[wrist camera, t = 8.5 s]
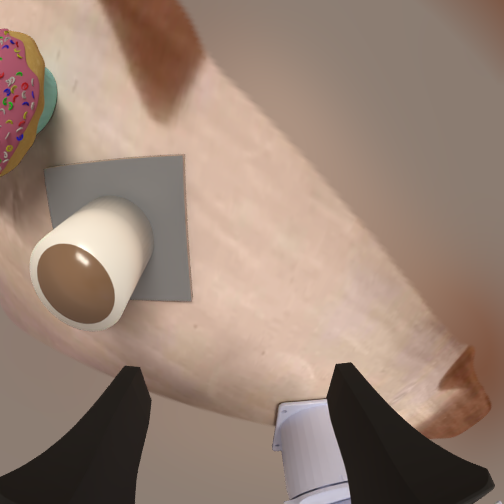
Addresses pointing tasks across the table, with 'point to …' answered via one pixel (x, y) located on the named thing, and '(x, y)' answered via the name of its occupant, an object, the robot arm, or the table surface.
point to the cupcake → (22, 96)
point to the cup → (93, 263)
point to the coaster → (147, 199)
